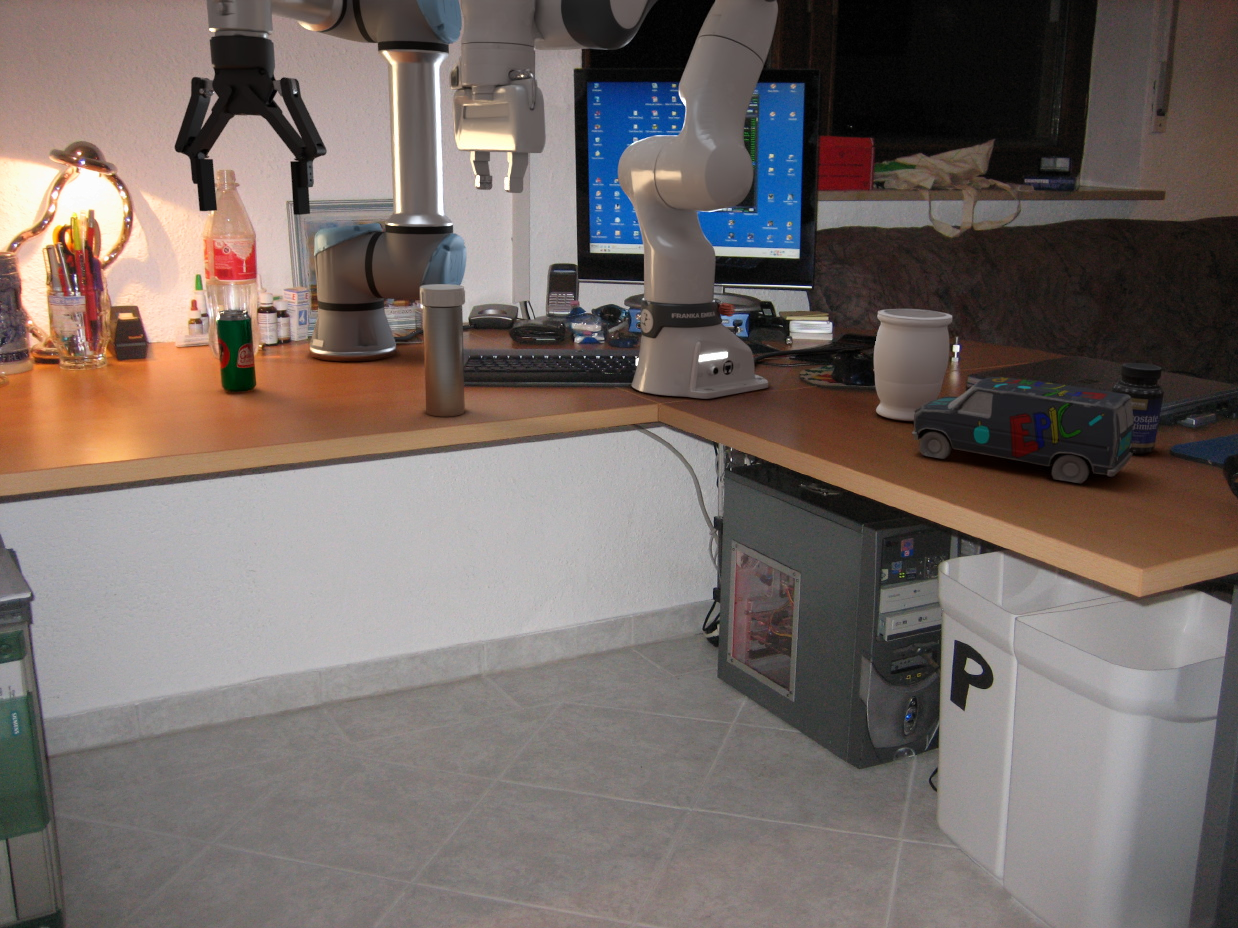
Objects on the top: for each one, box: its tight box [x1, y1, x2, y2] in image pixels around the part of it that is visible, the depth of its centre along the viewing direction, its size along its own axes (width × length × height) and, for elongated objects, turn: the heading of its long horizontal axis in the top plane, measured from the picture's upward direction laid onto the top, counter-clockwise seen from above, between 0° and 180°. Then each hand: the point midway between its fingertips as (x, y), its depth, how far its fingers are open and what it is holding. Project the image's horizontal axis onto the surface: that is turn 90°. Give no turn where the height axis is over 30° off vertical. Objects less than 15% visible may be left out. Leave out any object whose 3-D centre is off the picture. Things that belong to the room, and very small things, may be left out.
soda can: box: [215, 309, 257, 393], centre depth 163 cm, size 5×5×12 cm
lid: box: [419, 284, 466, 307], centre depth 149 cm, size 6×6×2 cm
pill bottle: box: [1111, 362, 1165, 455], centre depth 139 cm, size 6×6×11 cm
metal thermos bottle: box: [422, 305, 466, 418], centre depth 151 cm, size 6×6×18 cm
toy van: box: [911, 376, 1135, 484], centre depth 132 cm, size 11×25×10 cm, turn 54°
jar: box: [873, 308, 953, 422], centre depth 154 cm, size 11×10×15 cm
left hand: (254, 213), depth 138 cm, fingers open, 13 cm apart
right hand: (498, 191), depth 132 cm, fingers open, 8 cm apart
